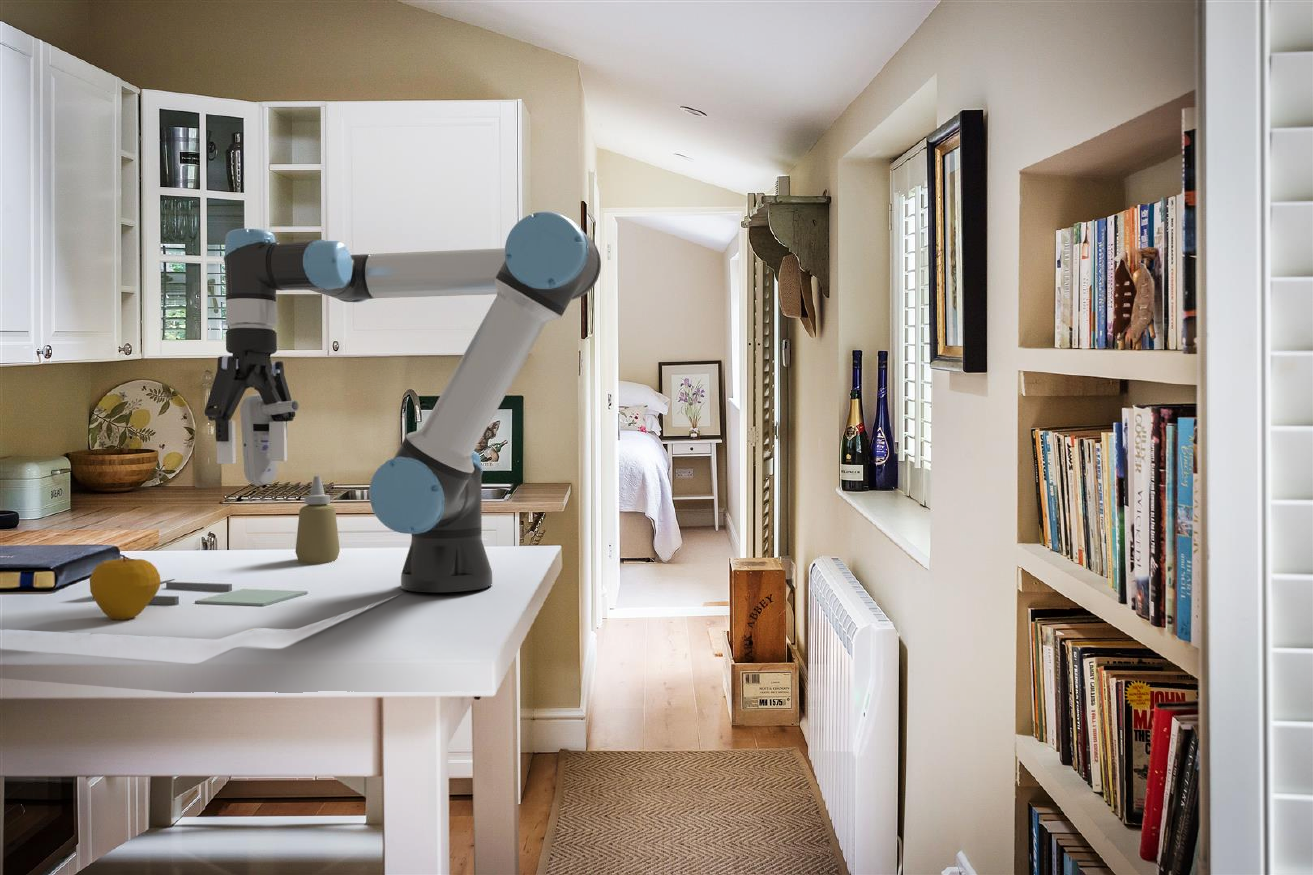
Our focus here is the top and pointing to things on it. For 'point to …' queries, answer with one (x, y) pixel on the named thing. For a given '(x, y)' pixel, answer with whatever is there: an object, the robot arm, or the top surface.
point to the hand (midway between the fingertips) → (253, 462)
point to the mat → (251, 597)
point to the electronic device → (260, 437)
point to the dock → (187, 586)
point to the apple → (124, 586)
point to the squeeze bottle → (317, 528)
